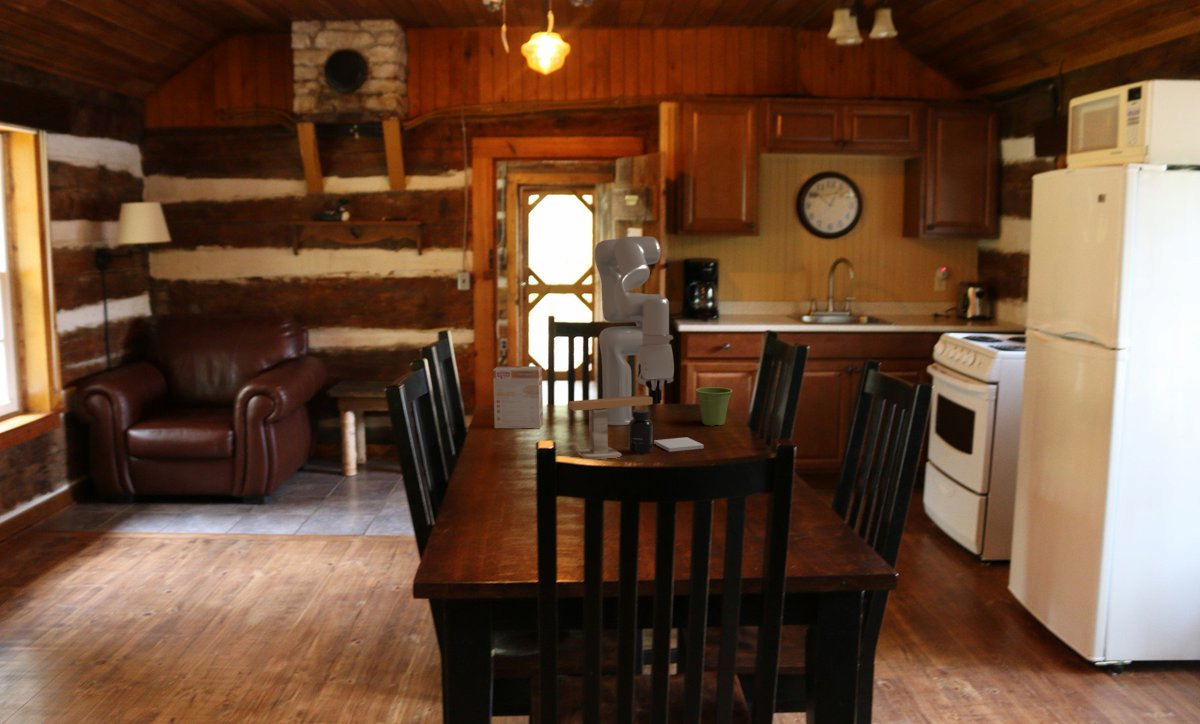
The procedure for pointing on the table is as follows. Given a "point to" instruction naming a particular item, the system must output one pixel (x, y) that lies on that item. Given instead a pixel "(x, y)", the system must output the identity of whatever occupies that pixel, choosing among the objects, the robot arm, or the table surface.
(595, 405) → the strap bar
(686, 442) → the grey mat
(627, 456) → the table surface
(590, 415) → the stand
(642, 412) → the supplement bottle
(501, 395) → the coffeecake box
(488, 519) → the table surface
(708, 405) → the plant pot
